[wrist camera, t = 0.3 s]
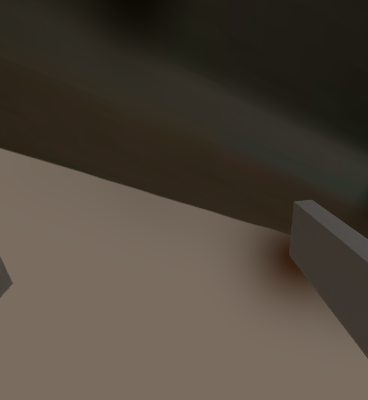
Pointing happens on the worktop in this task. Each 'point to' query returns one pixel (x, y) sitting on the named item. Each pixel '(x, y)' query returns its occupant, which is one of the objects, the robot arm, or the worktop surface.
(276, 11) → the worktop surface
